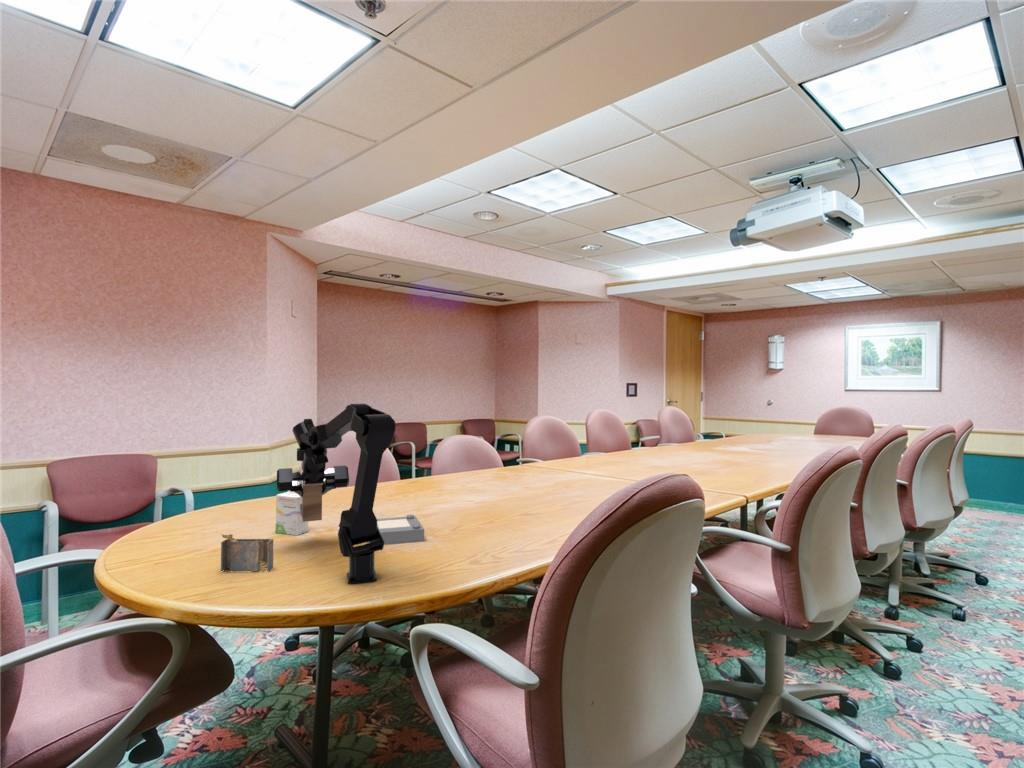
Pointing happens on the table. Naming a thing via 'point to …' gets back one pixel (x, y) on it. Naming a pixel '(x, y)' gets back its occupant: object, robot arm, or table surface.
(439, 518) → the table surface
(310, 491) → the walnut brick
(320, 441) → the robot arm
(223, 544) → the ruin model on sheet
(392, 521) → the base brick
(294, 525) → the ink box
